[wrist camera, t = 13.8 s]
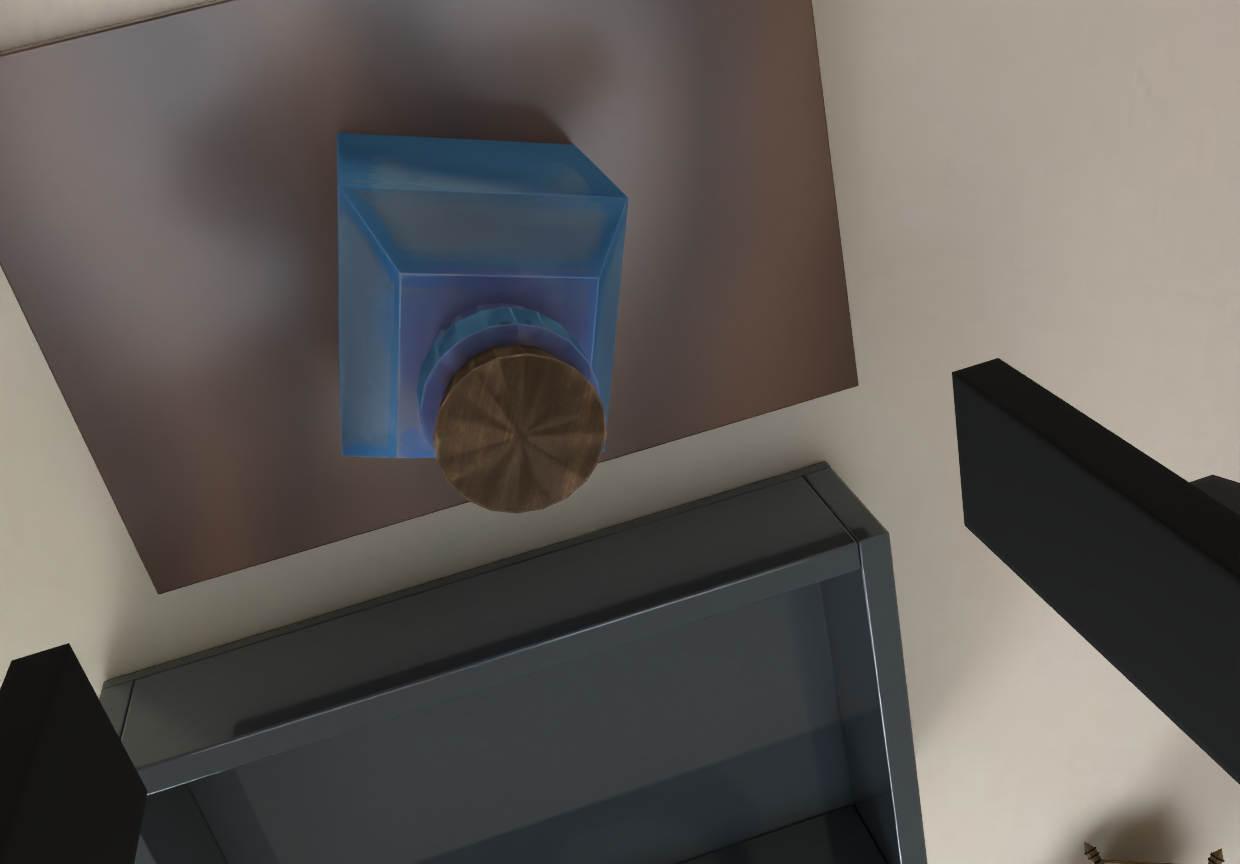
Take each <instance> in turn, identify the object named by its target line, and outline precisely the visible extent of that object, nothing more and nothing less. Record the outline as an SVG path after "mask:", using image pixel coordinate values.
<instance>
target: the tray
mask: <svg viewBox="0 0 1240 864" xmlns="http://www.w3.org/2000/svg"><path fill="white" fill-rule="evenodd" d="M99 701H100V702H101V704H102V706H103V708H104V710H105V712H106V714H107V716H108V717H109V719H110V721H111V723H112V725H113V727H114V729H115V731H116V732H117V734H118V736H119V738H120V740H121V742H122V744H123V746H124V748H125V749H126V751H127V753H128V755H129V757H130V759H131V761H132V763H133V764H134V766H135V768H136V770H137V772H138V774H139V776H140V778H141V779H142V781H143V783H144V785H145V787H146V789H147V791H148V792H147V798H146V803H145V809H144V814H143V819H142V825H141V830H140V836H139V841H138V846H137V852H136V857H135V863H134V864H927V856H926V848H925V839H924V831H923V822H922V813H921V805H920V796H919V787H918V779H917V770H916V761H915V753H914V744H913V736H912V727H911V718H910V710H909V701H908V692H907V684H906V675H905V666H904V658H903V649H902V641H901V632H900V623H899V615H898V606H897V597H896V589H895V580H894V572H893V563H892V554H891V546H890V537H889V532H888V531H887V530H886V529H885V528H884V527H883V526H882V524H881V523H880V522H879V521H878V520H877V519H876V518H875V517H874V515H873V514H872V513H871V512H870V511H869V510H868V509H867V508H866V506H865V505H864V504H863V503H862V502H861V501H860V500H859V499H858V497H857V496H856V495H855V494H854V493H853V492H852V491H851V490H850V488H849V487H848V486H847V485H846V484H845V483H844V482H843V481H842V479H841V478H840V477H839V476H838V475H837V474H836V473H835V472H834V471H833V469H832V468H831V467H830V465H829V464H828V463H827V462H822V463H819V464H816V465H813V466H809V467H806V468H803V469H799V470H796V471H793V472H790V473H786V474H783V475H780V476H776V477H773V478H770V479H767V480H763V481H760V482H757V483H754V484H750V485H747V486H744V487H740V488H737V489H734V490H731V491H727V492H724V493H721V494H718V495H714V496H711V497H708V498H704V499H701V500H698V501H695V502H691V503H688V504H685V505H682V506H678V507H675V508H672V509H668V510H665V511H662V512H659V513H655V514H652V515H649V516H646V517H642V518H639V519H636V520H632V521H629V522H626V523H623V524H619V525H616V526H613V527H610V528H606V529H603V530H600V531H596V532H593V533H590V534H587V535H583V536H580V537H577V538H573V539H570V540H567V541H564V542H560V543H557V544H554V545H551V546H547V547H544V548H541V549H537V550H534V551H531V552H528V553H524V554H521V555H518V556H515V557H511V558H508V559H505V560H501V561H498V562H495V563H492V564H488V565H485V566H482V567H479V568H475V569H472V570H469V571H465V572H462V573H459V574H456V575H452V576H449V577H446V578H443V579H439V580H436V581H433V582H429V583H426V584H423V585H420V586H416V587H413V588H410V589H406V590H403V591H400V592H397V593H393V594H390V595H387V596H384V597H380V598H377V599H374V600H370V601H367V602H364V603H361V604H357V605H354V606H351V607H348V608H344V609H341V610H338V611H334V612H331V613H328V614H325V615H321V616H318V617H315V618H312V619H308V620H305V621H302V622H298V623H295V624H292V625H289V626H285V627H282V628H279V629H276V630H272V631H269V632H266V633H262V634H259V635H256V636H253V637H249V638H246V639H243V640H239V641H236V642H233V643H230V644H226V645H223V646H220V647H217V648H213V649H210V650H207V651H203V652H200V653H197V654H194V655H190V656H187V657H184V658H181V659H177V660H174V661H171V662H167V663H164V664H161V665H158V666H154V667H151V668H148V669H145V670H141V671H138V672H135V673H131V674H128V675H125V676H122V677H118V678H115V679H112V680H109V681H105V682H104V683H103V687H102V691H101V694H100V698H99Z"/></svg>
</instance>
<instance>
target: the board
mask: <svg viewBox="0 0 1240 864" xmlns="http://www.w3.org/2000/svg"><path fill="white" fill-rule="evenodd" d="M337 133H354V134H374V135H393V136H413V137H433V138H453V139H472V140H492V141H512V142H532V143H552V144H571V145H575V146H576V147H577V148H578V149H579V150H580V151H581V152H583V153H584V154H585V155H586V156H587V157H588V158H589V159H590V160H591V161H592V162H593V163H594V164H595V165H596V166H597V167H598V168H599V169H600V170H601V171H602V172H603V173H604V174H605V175H606V176H607V177H608V178H609V179H610V180H611V181H612V182H613V183H614V184H615V185H616V186H617V187H618V188H619V189H620V190H621V191H622V192H623V193H624V194H625V195H626V196H627V197H628V208H627V219H626V230H625V240H624V251H623V262H622V272H621V283H620V294H619V304H618V315H617V326H616V337H615V347H614V358H613V369H612V379H611V390H610V401H609V411H608V422H607V436H606V444H605V452H602V455H601V459H600V461H599V462H598V463H601V462H604V461H607V460H611V459H614V458H618V457H621V456H624V455H628V454H631V453H634V452H638V451H641V450H644V449H648V448H651V447H654V446H658V445H661V444H664V443H668V442H671V441H674V440H678V439H681V438H685V437H688V436H691V435H695V434H698V433H701V432H705V431H708V430H711V429H715V428H718V427H721V426H725V425H728V424H731V423H735V422H738V421H742V420H745V419H748V418H752V417H755V416H758V415H762V414H765V413H768V412H772V411H775V410H778V409H782V408H785V407H788V406H792V405H795V404H798V403H802V402H805V401H809V400H812V399H815V398H819V397H822V396H825V395H829V394H832V393H835V392H839V391H842V390H845V389H849V388H852V387H855V386H858V377H857V369H856V361H855V353H854V345H853V336H852V328H851V320H850V312H849V304H848V295H847V287H846V279H845V271H844V262H843V254H842V246H841V238H840V230H839V221H838V213H837V205H836V197H835V189H834V180H833V172H832V164H831V156H830V148H829V139H828V131H827V123H826V115H825V107H824V98H823V90H822V82H821V74H820V65H819V57H818V49H817V41H816V33H815V24H814V16H813V8H812V0H213V1H209V2H205V3H201V4H197V5H192V6H188V7H184V8H180V9H176V10H172V11H167V12H163V13H159V14H155V15H151V16H147V17H142V18H138V19H134V20H130V21H126V22H122V23H118V24H113V25H109V26H105V27H101V28H97V29H93V30H88V31H84V32H80V33H76V34H72V35H68V36H64V37H59V38H55V39H51V40H47V41H43V42H39V43H34V44H30V45H26V46H22V47H18V48H14V49H10V50H5V51H1V52H0V265H1V267H2V270H3V272H4V274H5V276H6V278H7V280H8V282H9V284H10V286H11V288H12V290H13V293H14V295H15V297H16V299H17V301H18V303H19V305H20V307H21V309H22V311H23V313H24V316H25V318H26V320H27V322H28V324H29V326H30V328H31V330H32V332H33V334H34V336H35V339H36V341H37V343H38V345H39V347H40V349H41V351H42V353H43V355H44V357H45V359H46V361H47V364H48V366H49V368H50V370H51V372H52V374H53V376H54V378H55V380H56V382H57V384H58V387H59V389H60V391H61V393H62V395H63V397H64V399H65V401H66V403H67V405H68V407H69V410H70V412H71V414H72V416H73V418H74V420H75V422H76V424H77V426H78V428H79V430H80V432H81V435H82V437H83V439H84V441H85V443H86V445H87V447H88V449H89V451H90V453H91V455H92V458H93V460H94V462H95V464H96V466H97V468H98V470H99V472H100V474H101V476H102V478H103V481H104V483H105V485H106V487H107V489H108V491H109V493H110V495H111V497H112V499H113V501H114V503H115V506H116V508H117V510H118V512H119V514H120V516H121V518H122V520H123V522H124V524H125V526H126V529H127V531H128V533H129V535H130V537H131V539H132V541H133V543H134V545H135V547H136V549H137V552H138V554H139V556H140V558H141V560H142V562H143V564H144V566H145V568H146V570H147V572H148V575H149V577H150V579H151V581H152V583H153V585H154V587H155V589H156V591H157V593H158V594H162V593H165V592H168V591H172V590H175V589H178V588H182V587H185V586H188V585H192V584H195V583H199V582H202V581H205V580H209V579H212V578H215V577H219V576H222V575H225V574H229V573H232V572H235V571H239V570H242V569H245V568H249V567H252V566H256V565H259V564H262V563H266V562H269V561H272V560H276V559H279V558H282V557H286V556H289V555H292V554H296V553H299V552H302V551H306V550H309V549H313V548H316V547H319V546H323V545H326V544H329V543H333V542H336V541H339V540H343V539H346V538H349V537H353V536H356V535H359V534H363V533H366V532H369V531H373V530H376V529H380V528H383V527H386V526H390V525H393V524H396V523H400V522H403V521H406V520H410V519H413V518H416V517H420V516H423V515H426V514H430V513H433V512H437V511H440V510H443V509H447V508H450V507H453V506H457V505H460V504H463V503H467V502H470V501H468V500H466V499H465V498H464V497H463V496H462V495H461V494H460V493H459V492H457V491H456V490H455V489H454V488H453V487H452V486H451V485H450V484H448V482H447V480H446V478H445V476H444V474H443V473H442V471H441V469H440V467H439V465H438V463H437V461H436V458H379V457H355V456H342V449H341V416H340V384H339V331H338V213H337Z"/></svg>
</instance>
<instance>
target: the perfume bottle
mask: <svg viewBox="0 0 1240 864" xmlns="http://www.w3.org/2000/svg"><path fill="white" fill-rule="evenodd" d="M627 208H628V197H627V196H626V195H625V194H624V193H623V192H622V191H621V190H620V189H619V188H618V187H617V186H616V185H615V184H614V183H613V182H612V181H611V180H610V179H609V178H608V177H607V176H606V175H605V174H604V173H603V172H602V171H601V170H600V169H599V168H598V167H597V166H596V165H595V164H594V163H593V162H592V161H591V160H590V159H589V158H588V157H587V156H586V155H585V154H584V153H583V152H581V151H580V150H579V149H578V148H577V147H576V146H575V145H571V144H552V143H532V142H512V141H492V140H472V139H453V138H433V137H413V136H393V135H374V134H354V133H337V213H338V331H339V384H340V416H341V449H342V456H355V457H379V458H436V461H437V463H438V465H439V467H440V469H441V471H442V473H443V474H444V476H445V478H446V480H447V482H448V484H450V485H451V486H452V487H453V488H454V489H455V490H456V491H457V492H459V493H460V494H461V495H462V496H463V497H464V498H465V499H466V500H468V501H470V502H472V503H475V504H477V505H479V506H482V507H484V508H486V509H489V510H491V511H500V512H509V513H522V512H528V511H534V510H540V509H544V508H546V507H548V506H550V505H553V504H555V503H557V502H559V501H561V500H563V499H565V498H567V497H568V496H570V495H571V494H572V493H573V492H574V491H575V490H576V489H578V488H579V487H580V486H581V485H582V484H583V483H584V482H586V481H587V479H588V478H589V476H590V475H591V473H592V472H593V470H594V468H595V467H596V465H597V464H598V462H599V461H600V459H601V455H602V452H605V444H606V436H607V422H608V411H609V401H610V390H611V379H612V369H613V358H614V347H615V337H616V326H617V315H618V304H619V294H620V283H621V272H622V262H623V251H624V240H625V230H626V219H627Z"/></svg>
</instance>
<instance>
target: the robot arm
mask: <svg viewBox="0 0 1240 864" xmlns="http://www.w3.org/2000/svg"><path fill="white" fill-rule="evenodd" d="M952 379H953V391H954V403H955V415H956V428H957V440H958V452H959V464H960V476H961V488H962V500H963V512H964V524H965V526H966V527H967V528H968V529H969V530H970V531H971V532H972V533H973V534H974V535H975V536H976V537H977V538H979V539H980V540H981V541H982V542H983V543H984V544H985V545H986V546H987V547H988V548H989V549H990V550H991V551H992V552H993V553H994V554H996V555H997V556H998V557H999V558H1000V559H1001V560H1002V561H1003V562H1004V563H1005V564H1006V565H1007V566H1008V567H1009V568H1010V569H1011V570H1013V571H1014V572H1015V573H1016V574H1017V575H1018V576H1019V577H1020V578H1021V579H1022V580H1023V581H1024V582H1025V583H1026V584H1027V585H1028V586H1029V587H1031V588H1032V589H1033V590H1034V591H1035V592H1036V593H1037V594H1038V595H1039V596H1040V597H1041V598H1042V599H1043V600H1044V601H1045V602H1046V603H1048V604H1049V605H1050V606H1051V607H1052V608H1053V609H1054V610H1055V611H1056V612H1057V613H1058V614H1059V615H1060V616H1061V617H1062V618H1063V619H1065V620H1066V621H1067V622H1068V623H1069V624H1070V625H1071V626H1072V627H1073V628H1074V629H1075V630H1076V631H1077V632H1078V633H1079V634H1080V635H1082V636H1083V637H1084V638H1085V639H1086V640H1087V641H1088V642H1089V643H1090V644H1091V645H1092V646H1093V647H1094V648H1095V649H1096V650H1097V651H1098V652H1100V653H1101V654H1102V655H1103V656H1104V657H1105V658H1106V659H1107V660H1108V661H1109V662H1110V663H1111V664H1112V665H1113V666H1114V667H1115V668H1117V669H1118V670H1119V671H1120V672H1121V673H1122V674H1123V675H1124V676H1125V677H1126V678H1127V679H1128V680H1129V681H1130V682H1131V683H1132V684H1134V685H1135V686H1136V687H1137V688H1138V689H1139V690H1140V691H1141V692H1142V693H1143V694H1144V695H1145V696H1146V697H1147V698H1148V699H1149V700H1151V701H1152V702H1153V703H1154V704H1155V705H1156V706H1157V707H1158V708H1159V709H1160V710H1161V711H1162V712H1163V713H1164V714H1165V715H1166V716H1167V717H1169V718H1170V719H1171V720H1172V721H1173V722H1174V723H1175V724H1176V725H1177V726H1178V727H1179V728H1180V729H1181V730H1182V731H1183V732H1184V733H1186V734H1187V735H1188V736H1189V737H1190V738H1191V739H1192V740H1193V741H1194V742H1195V743H1196V744H1197V745H1198V746H1199V747H1200V748H1201V749H1203V750H1204V751H1205V752H1206V753H1207V754H1208V755H1209V756H1210V757H1211V758H1212V759H1213V760H1214V761H1215V762H1216V763H1217V764H1218V765H1220V766H1221V767H1222V768H1223V769H1224V770H1225V771H1226V772H1227V773H1228V774H1229V775H1230V776H1231V777H1232V778H1233V779H1234V780H1235V781H1236V782H1238V783H1239V784H1240V483H1238V482H1235V481H1232V480H1228V479H1225V478H1222V477H1219V476H1215V475H1210V476H1207V477H1204V478H1201V479H1198V480H1195V481H1192V482H1188V481H1186V480H1184V479H1183V478H1181V477H1180V476H1178V475H1177V474H1175V473H1174V472H1172V471H1171V470H1169V469H1168V468H1166V467H1165V466H1163V465H1161V464H1160V463H1158V462H1157V461H1155V460H1154V459H1152V458H1151V457H1149V456H1148V455H1146V454H1145V453H1143V452H1142V451H1140V450H1138V449H1137V448H1135V447H1134V446H1132V445H1131V444H1129V443H1128V442H1126V441H1125V440H1123V439H1122V438H1120V437H1119V436H1117V435H1115V434H1114V433H1112V432H1111V431H1109V430H1108V429H1106V428H1105V427H1103V426H1102V425H1100V424H1099V423H1097V422H1096V421H1094V420H1092V419H1091V418H1089V417H1088V416H1086V415H1085V414H1083V413H1082V412H1080V411H1079V410H1077V409H1076V408H1074V407H1073V406H1071V405H1069V404H1068V403H1066V402H1065V401H1063V400H1062V399H1060V398H1059V397H1057V396H1056V395H1054V394H1053V393H1051V392H1050V391H1048V390H1047V389H1045V388H1043V387H1042V386H1040V385H1039V384H1037V383H1036V382H1034V381H1033V380H1031V379H1030V378H1028V377H1027V376H1025V375H1024V374H1022V373H1020V372H1019V371H1017V370H1016V369H1014V368H1013V367H1011V366H1010V365H1008V364H1007V363H1005V362H1004V361H1002V360H1001V359H999V358H997V359H994V360H990V361H987V362H984V363H981V364H977V365H974V366H971V367H968V368H964V369H961V370H958V371H954V372H952ZM147 792H148V791H147V789H146V787H145V785H144V783H143V781H142V779H141V778H140V776H139V774H138V772H137V770H136V768H135V766H134V764H133V763H132V761H131V759H130V757H129V755H128V753H127V751H126V749H125V748H124V746H123V744H122V742H121V740H120V738H119V736H118V734H117V732H116V731H115V729H114V727H113V725H112V723H111V721H110V719H109V717H108V716H107V714H106V712H105V710H104V708H103V706H102V704H101V702H100V701H99V699H98V697H97V695H96V693H95V691H94V689H93V687H92V685H91V684H90V682H89V680H88V678H87V676H86V674H85V672H84V670H83V669H82V667H81V665H80V663H79V661H78V659H77V657H76V655H75V654H74V652H73V650H72V648H71V646H70V644H69V643H68V644H65V645H61V646H58V647H55V648H52V649H48V650H45V651H42V652H38V653H35V654H32V655H29V656H25V657H22V658H19V659H16V660H12V661H11V664H10V666H9V669H8V671H7V674H6V676H5V679H4V681H3V684H2V686H1V689H0V864H134V863H135V857H136V852H137V846H138V841H139V836H140V830H141V825H142V819H143V814H144V809H145V803H146V798H147Z"/></svg>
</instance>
